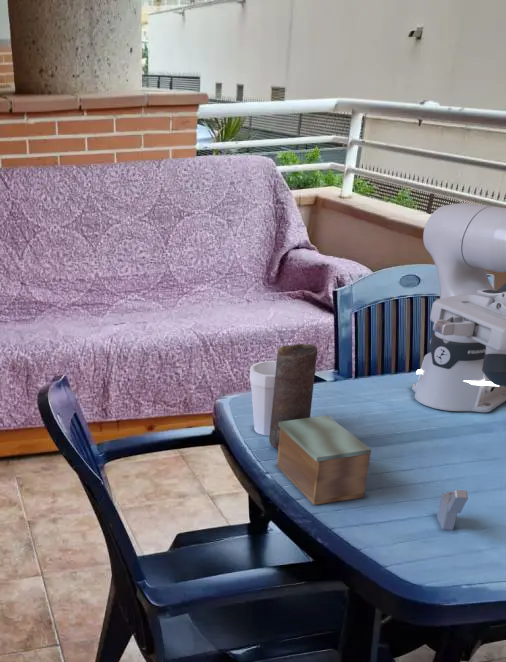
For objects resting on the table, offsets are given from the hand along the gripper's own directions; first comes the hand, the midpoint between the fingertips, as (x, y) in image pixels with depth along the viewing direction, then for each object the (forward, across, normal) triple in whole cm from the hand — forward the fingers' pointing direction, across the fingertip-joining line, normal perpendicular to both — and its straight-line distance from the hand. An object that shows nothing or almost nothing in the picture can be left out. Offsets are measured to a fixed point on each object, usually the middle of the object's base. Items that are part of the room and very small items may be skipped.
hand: (438, 328), depth 123 cm
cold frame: (+18, 0, -26) cm, 32 cm away
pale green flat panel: (+19, 0, -17) cm, 25 cm away
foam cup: (+18, +24, -26) cm, 39 cm away
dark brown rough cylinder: (+18, +15, -26) cm, 35 cm away
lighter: (+6, -21, -26) cm, 34 cm away
